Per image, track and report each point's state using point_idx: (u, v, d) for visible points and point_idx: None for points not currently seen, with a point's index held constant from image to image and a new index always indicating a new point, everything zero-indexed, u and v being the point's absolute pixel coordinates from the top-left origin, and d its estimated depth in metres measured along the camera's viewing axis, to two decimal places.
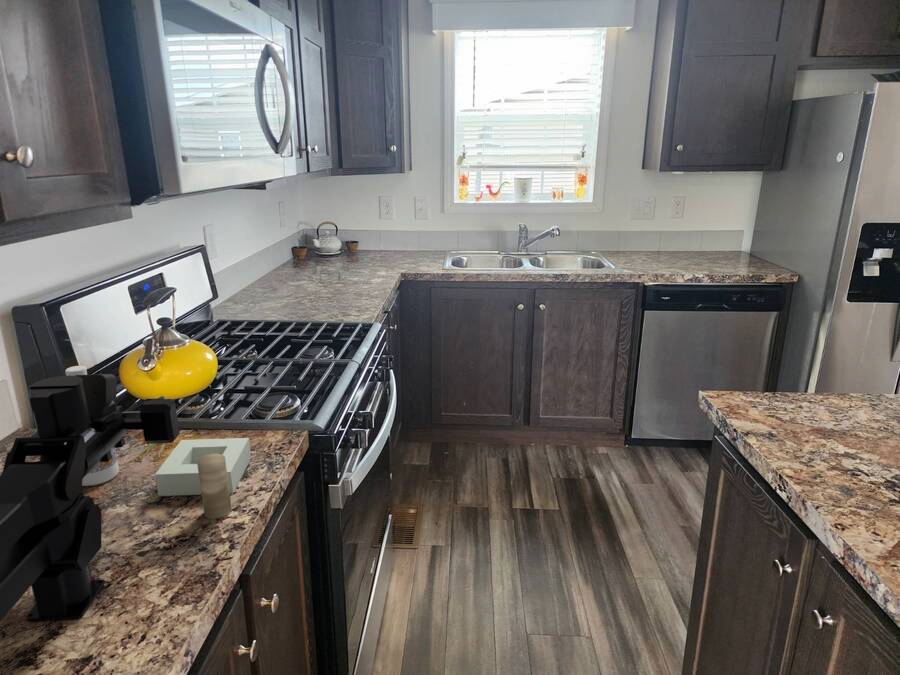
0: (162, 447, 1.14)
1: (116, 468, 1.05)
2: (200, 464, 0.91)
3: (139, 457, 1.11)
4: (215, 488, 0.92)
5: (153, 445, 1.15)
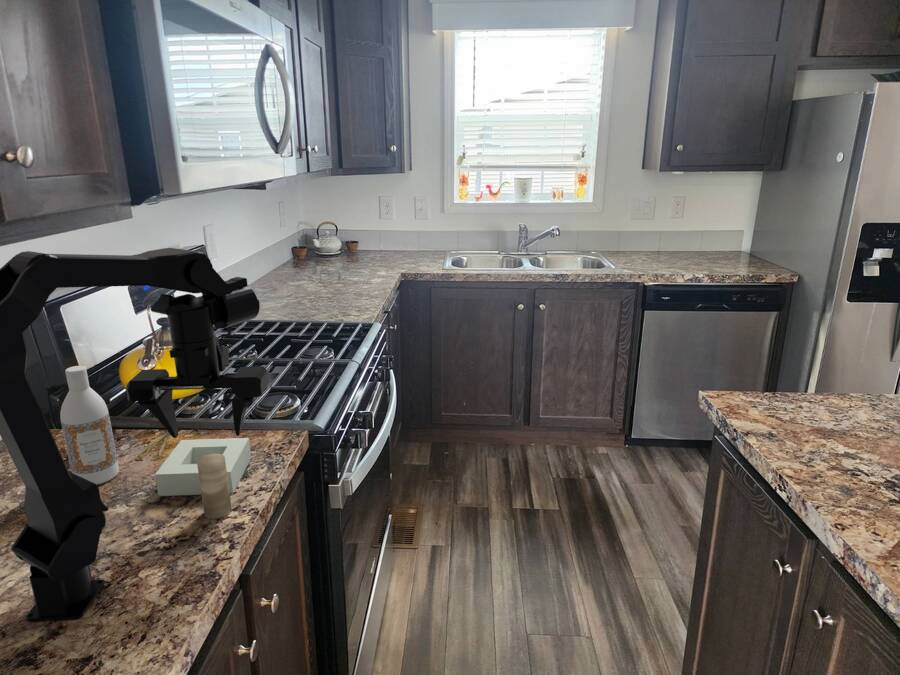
0: (163, 446, 1.14)
1: (116, 468, 1.05)
2: (200, 464, 0.91)
3: (140, 456, 1.11)
4: (215, 488, 0.92)
5: (153, 444, 1.15)
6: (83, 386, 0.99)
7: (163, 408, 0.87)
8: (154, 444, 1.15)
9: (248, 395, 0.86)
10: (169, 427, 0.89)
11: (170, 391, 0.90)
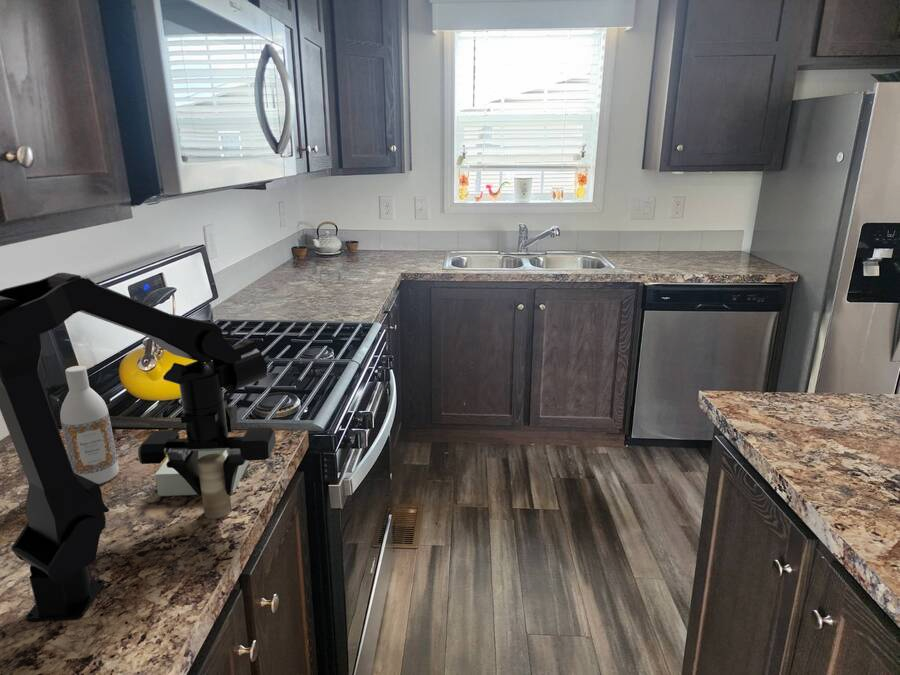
0: None
1: (116, 468, 1.05)
2: (200, 464, 0.91)
3: None
4: (215, 488, 0.92)
5: None
6: (83, 386, 0.99)
7: (190, 469, 0.91)
8: None
9: (256, 458, 0.89)
10: (195, 486, 0.92)
11: (196, 450, 0.94)
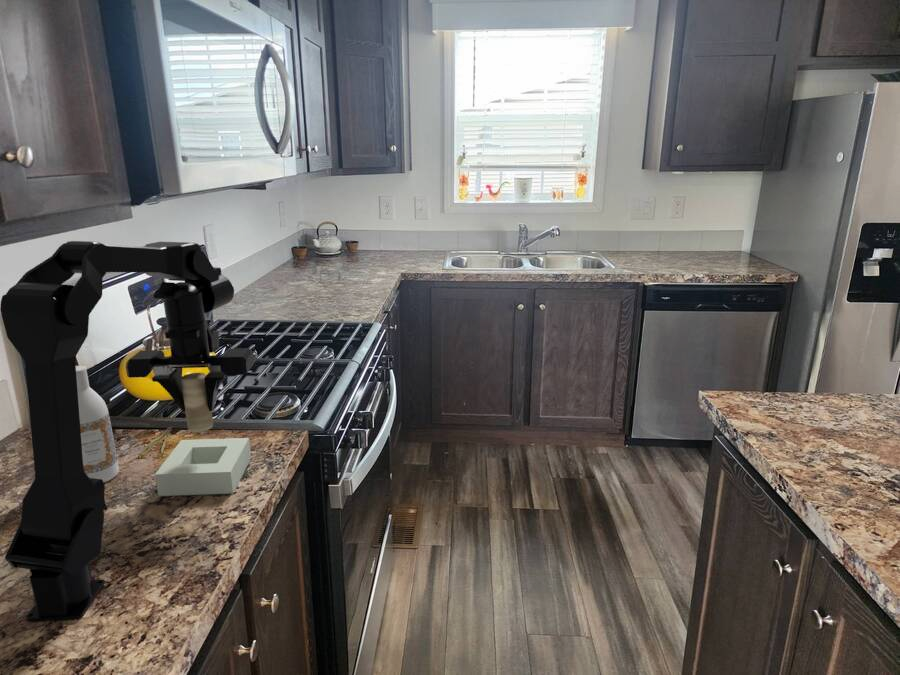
0: (164, 444, 1.15)
1: (116, 468, 1.05)
2: (183, 380, 0.98)
3: (142, 454, 1.12)
4: (197, 403, 0.99)
5: (154, 442, 1.16)
6: (83, 386, 0.99)
7: (174, 384, 0.98)
8: (155, 442, 1.16)
9: (235, 373, 0.97)
10: (179, 401, 0.99)
11: (180, 370, 1.01)
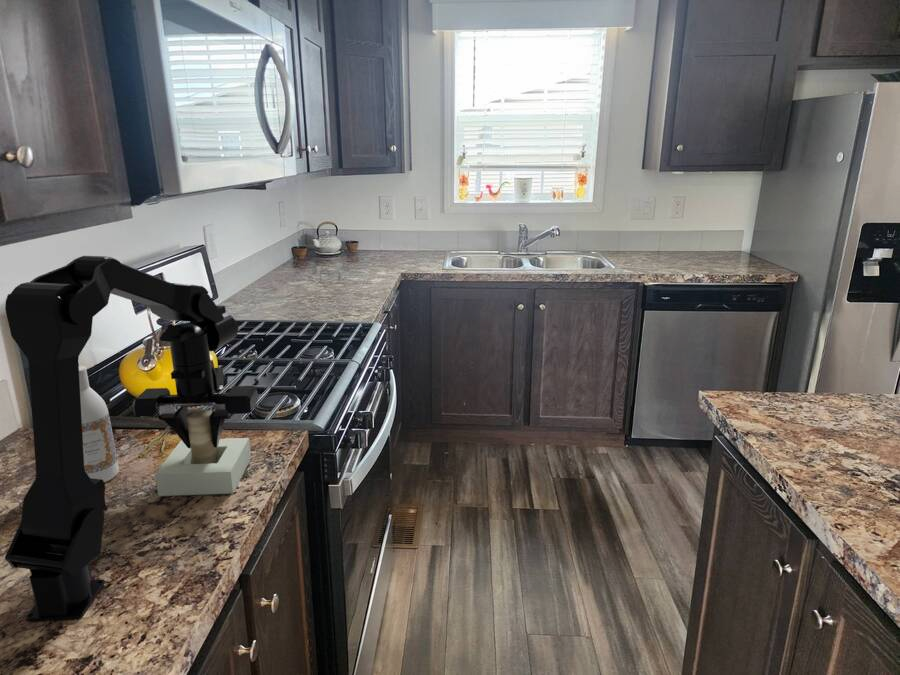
0: (164, 443, 1.16)
1: (116, 468, 1.05)
2: (189, 418, 1.00)
3: (142, 453, 1.12)
4: (203, 440, 1.01)
5: (154, 442, 1.16)
6: (83, 386, 0.99)
7: (180, 422, 1.00)
8: (155, 441, 1.17)
9: (239, 412, 0.99)
10: (184, 439, 1.01)
11: (185, 407, 1.03)
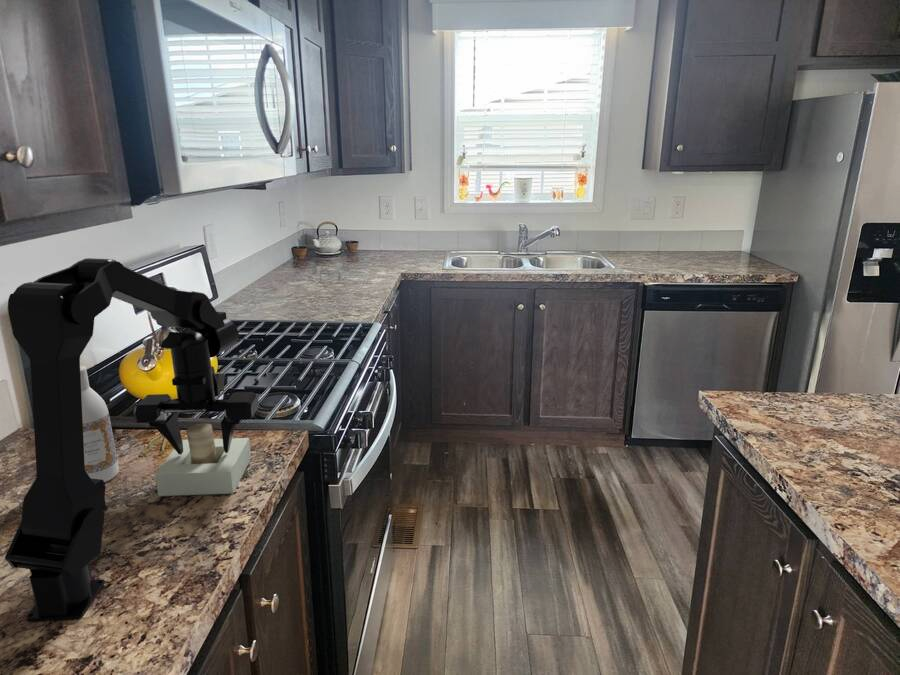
0: (164, 442, 1.16)
1: (116, 468, 1.05)
2: (189, 432, 1.01)
3: (143, 452, 1.12)
4: (203, 453, 1.02)
5: (154, 441, 1.17)
6: (83, 386, 0.99)
7: (170, 428, 1.00)
8: (155, 441, 1.17)
9: (240, 418, 0.99)
10: (175, 445, 1.02)
11: (176, 413, 1.03)
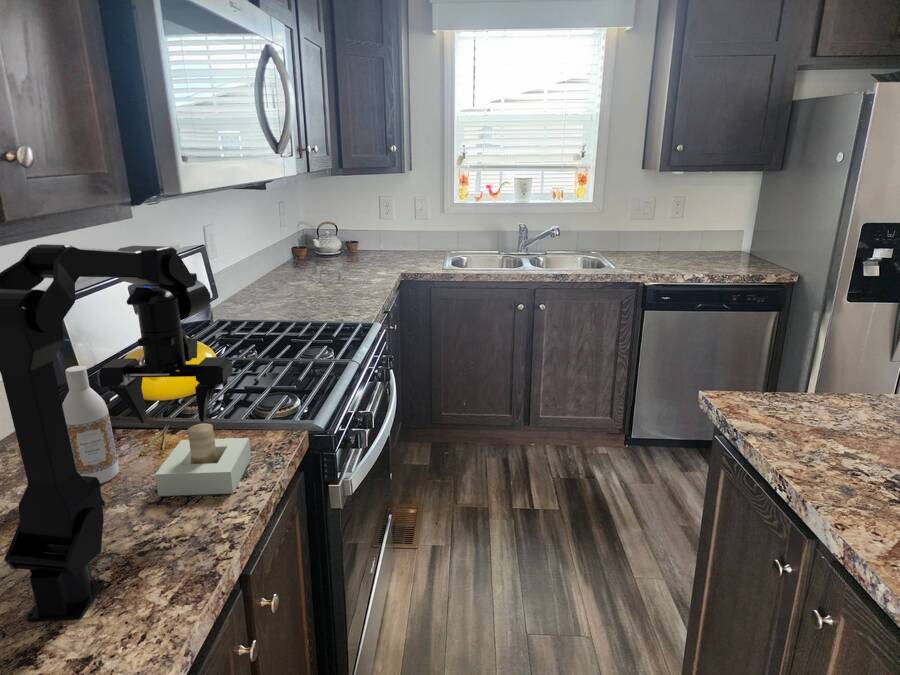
0: (164, 441, 1.16)
1: (116, 468, 1.05)
2: (190, 432, 1.01)
3: (144, 451, 1.13)
4: (204, 454, 1.02)
5: (154, 440, 1.17)
6: (83, 386, 0.99)
7: (132, 394, 0.94)
8: (155, 440, 1.17)
9: (210, 382, 0.93)
10: (137, 412, 0.95)
11: (140, 379, 0.97)
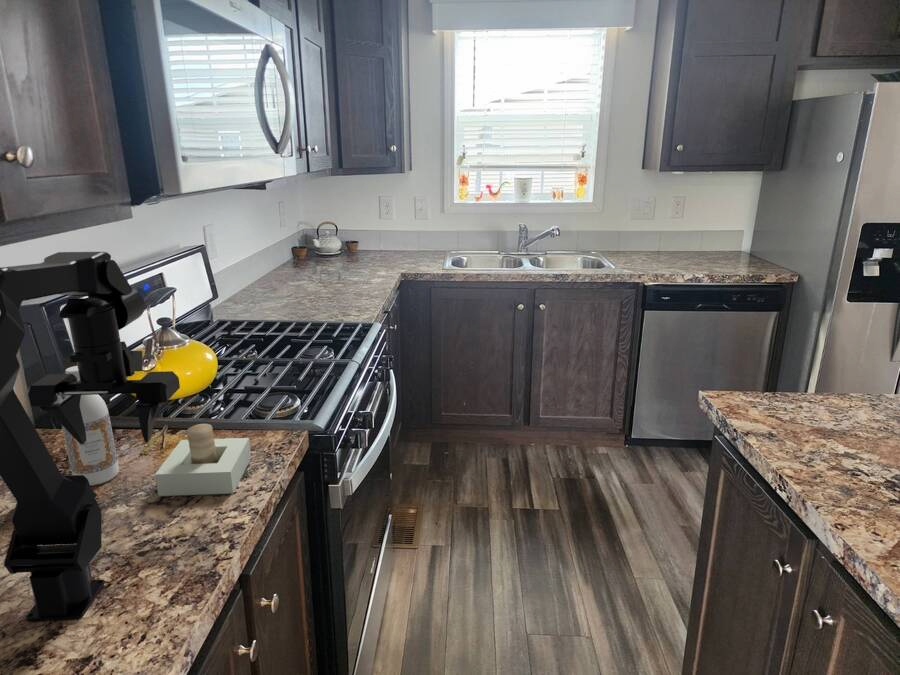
0: (165, 440, 1.17)
1: (116, 468, 1.05)
2: (189, 432, 1.01)
3: (144, 450, 1.13)
4: (204, 454, 1.02)
5: (154, 439, 1.17)
6: None
7: (67, 413, 0.86)
8: (155, 439, 1.18)
9: (152, 401, 0.85)
10: (74, 433, 0.87)
11: (77, 396, 0.89)
